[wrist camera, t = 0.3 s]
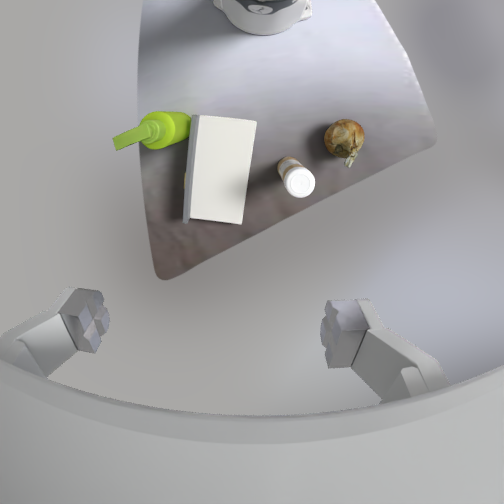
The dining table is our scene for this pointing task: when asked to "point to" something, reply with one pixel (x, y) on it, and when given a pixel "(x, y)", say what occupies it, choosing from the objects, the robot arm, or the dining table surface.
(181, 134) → the soap dispenser
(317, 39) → the dining table surface
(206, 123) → the white slab
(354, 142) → the onion
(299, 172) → the sprinkles bottle
